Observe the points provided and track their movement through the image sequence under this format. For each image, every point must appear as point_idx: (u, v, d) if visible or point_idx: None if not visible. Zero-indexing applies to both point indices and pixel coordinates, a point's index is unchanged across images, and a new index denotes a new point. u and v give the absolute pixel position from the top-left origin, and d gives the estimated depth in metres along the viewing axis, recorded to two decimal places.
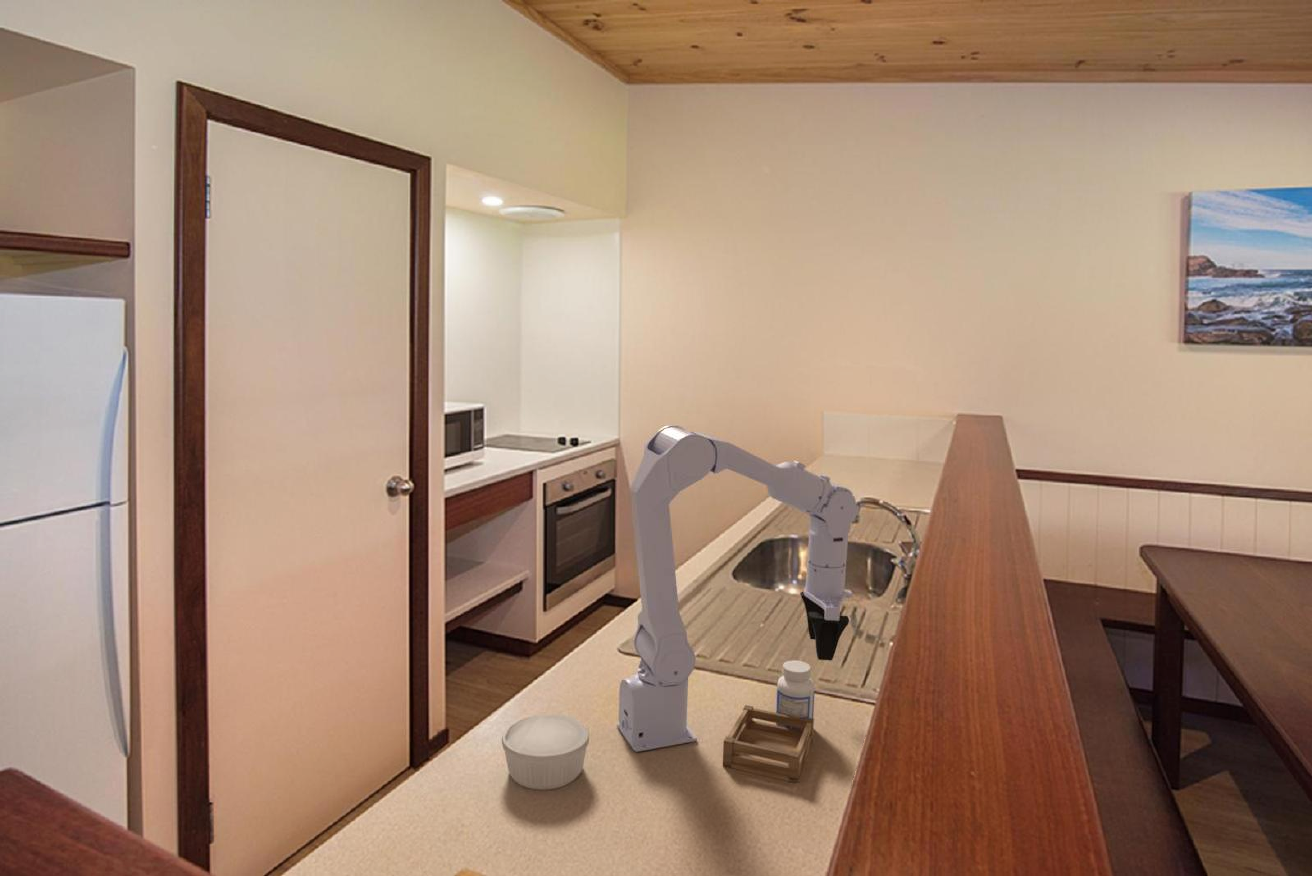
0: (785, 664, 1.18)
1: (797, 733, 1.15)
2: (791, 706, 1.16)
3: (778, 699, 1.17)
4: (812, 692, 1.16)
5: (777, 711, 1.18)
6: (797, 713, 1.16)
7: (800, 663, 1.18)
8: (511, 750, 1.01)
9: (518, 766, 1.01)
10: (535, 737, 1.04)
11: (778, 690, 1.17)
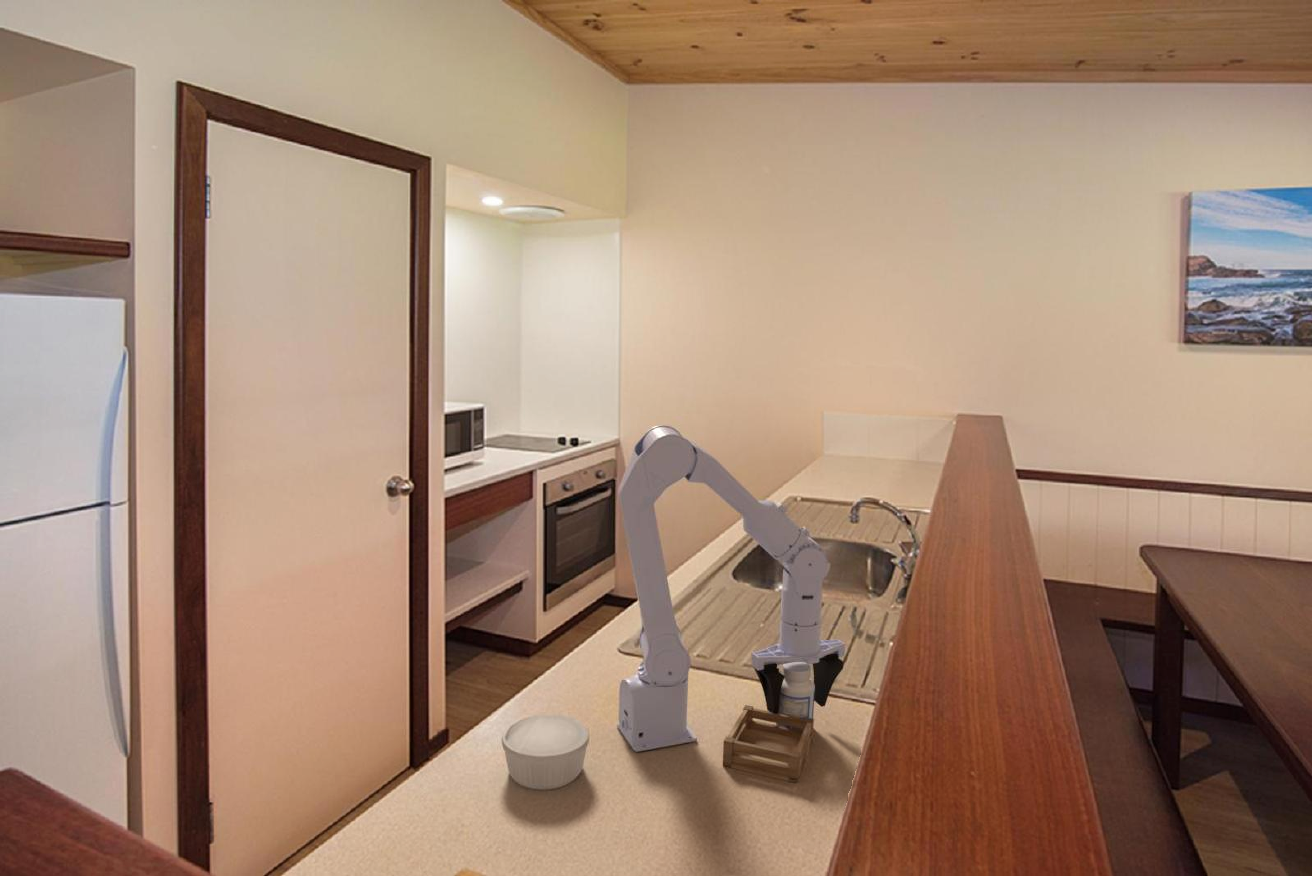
0: (785, 664, 1.18)
1: (797, 733, 1.15)
2: (791, 706, 1.16)
3: None
4: (812, 692, 1.16)
5: None
6: (797, 713, 1.16)
7: (800, 663, 1.18)
8: (511, 750, 1.01)
9: (518, 766, 1.01)
10: (535, 737, 1.04)
11: None
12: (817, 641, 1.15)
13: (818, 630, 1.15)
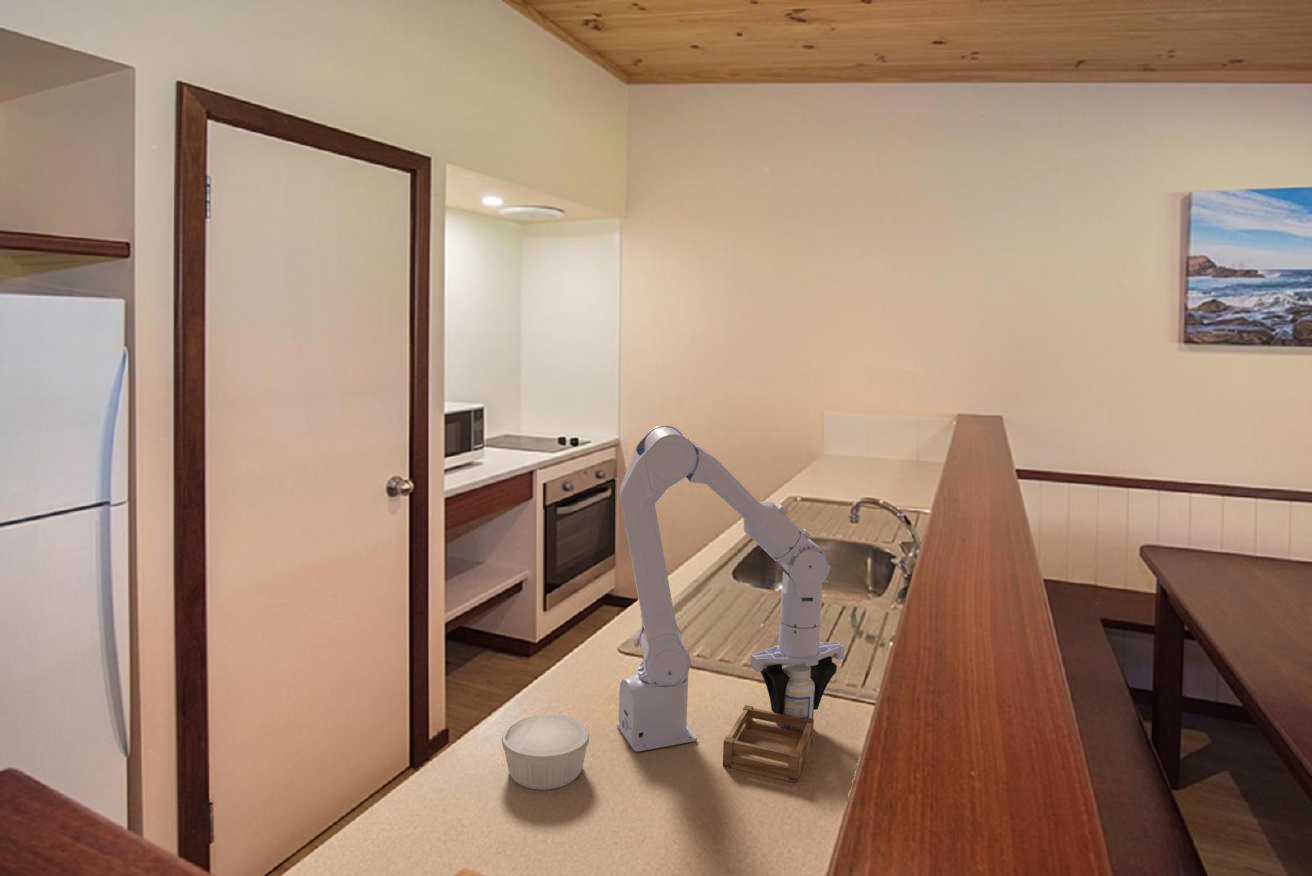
0: None
1: (797, 733, 1.15)
2: (791, 706, 1.16)
3: None
4: (812, 692, 1.16)
5: None
6: (797, 713, 1.16)
7: None
8: (511, 750, 1.01)
9: (518, 766, 1.01)
10: (535, 737, 1.04)
11: None
12: (816, 643, 1.15)
13: (817, 632, 1.15)
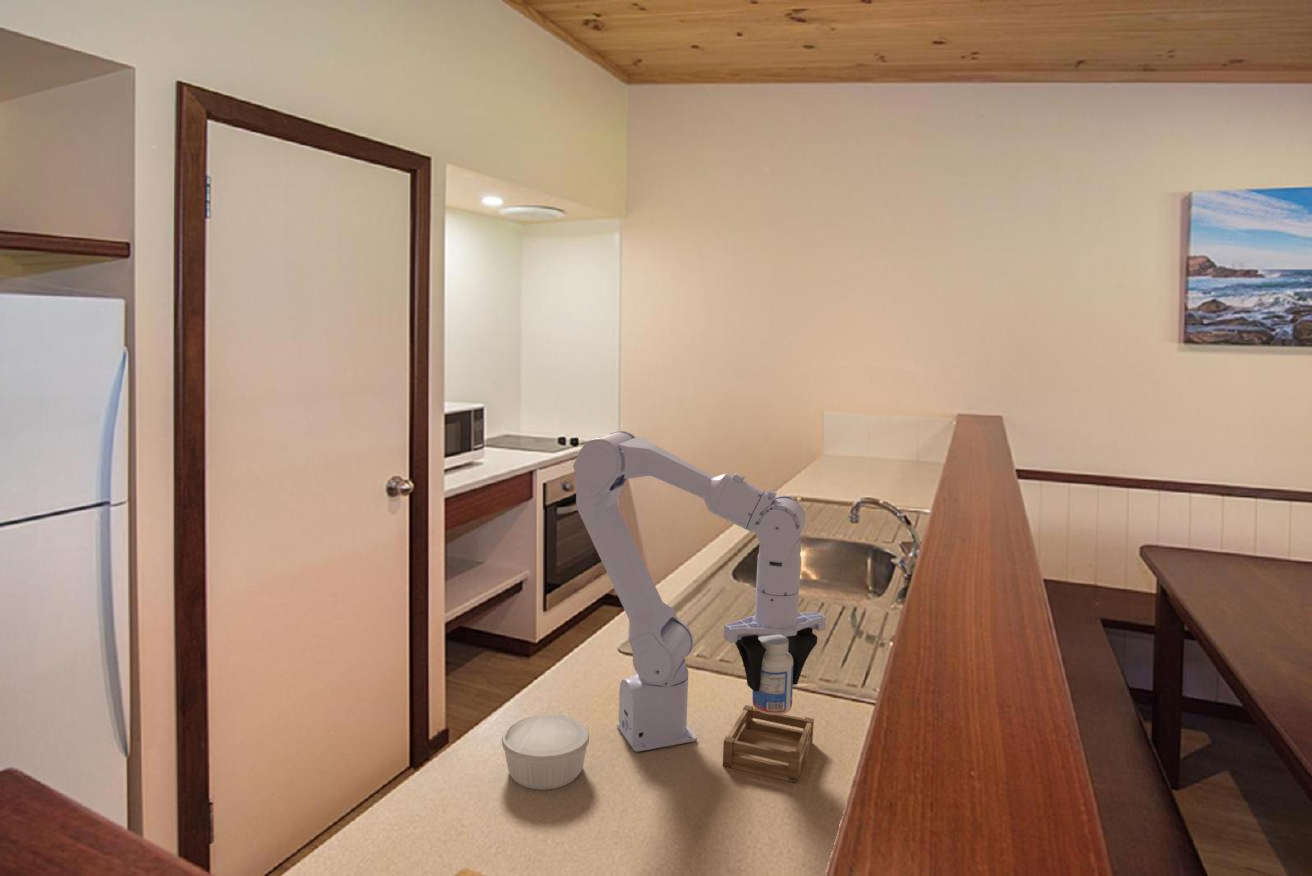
0: (761, 637, 1.10)
1: (797, 733, 1.15)
2: (767, 681, 1.08)
3: None
4: (790, 667, 1.08)
5: None
6: (773, 690, 1.07)
7: (778, 636, 1.10)
8: (511, 750, 1.01)
9: (518, 766, 1.01)
10: (535, 737, 1.04)
11: None
12: (795, 612, 1.07)
13: (796, 600, 1.07)
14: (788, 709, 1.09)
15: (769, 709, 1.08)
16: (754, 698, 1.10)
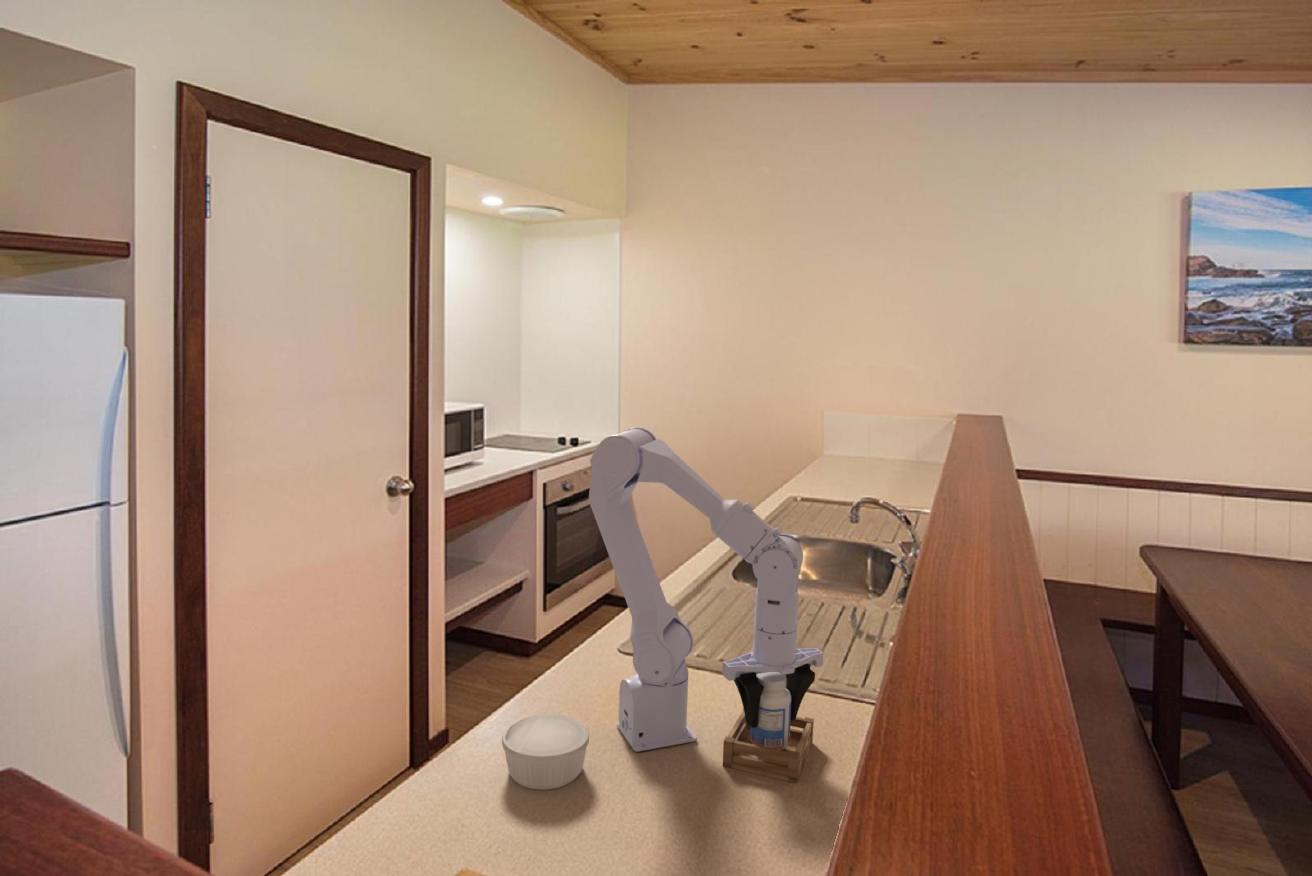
0: None
1: (797, 733, 1.15)
2: (765, 718, 1.08)
3: None
4: (788, 704, 1.09)
5: None
6: (771, 726, 1.08)
7: (776, 673, 1.11)
8: (511, 750, 1.01)
9: (518, 766, 1.01)
10: (535, 737, 1.04)
11: None
12: (793, 650, 1.08)
13: (794, 638, 1.07)
14: (786, 745, 1.10)
15: (767, 745, 1.09)
16: (752, 734, 1.10)
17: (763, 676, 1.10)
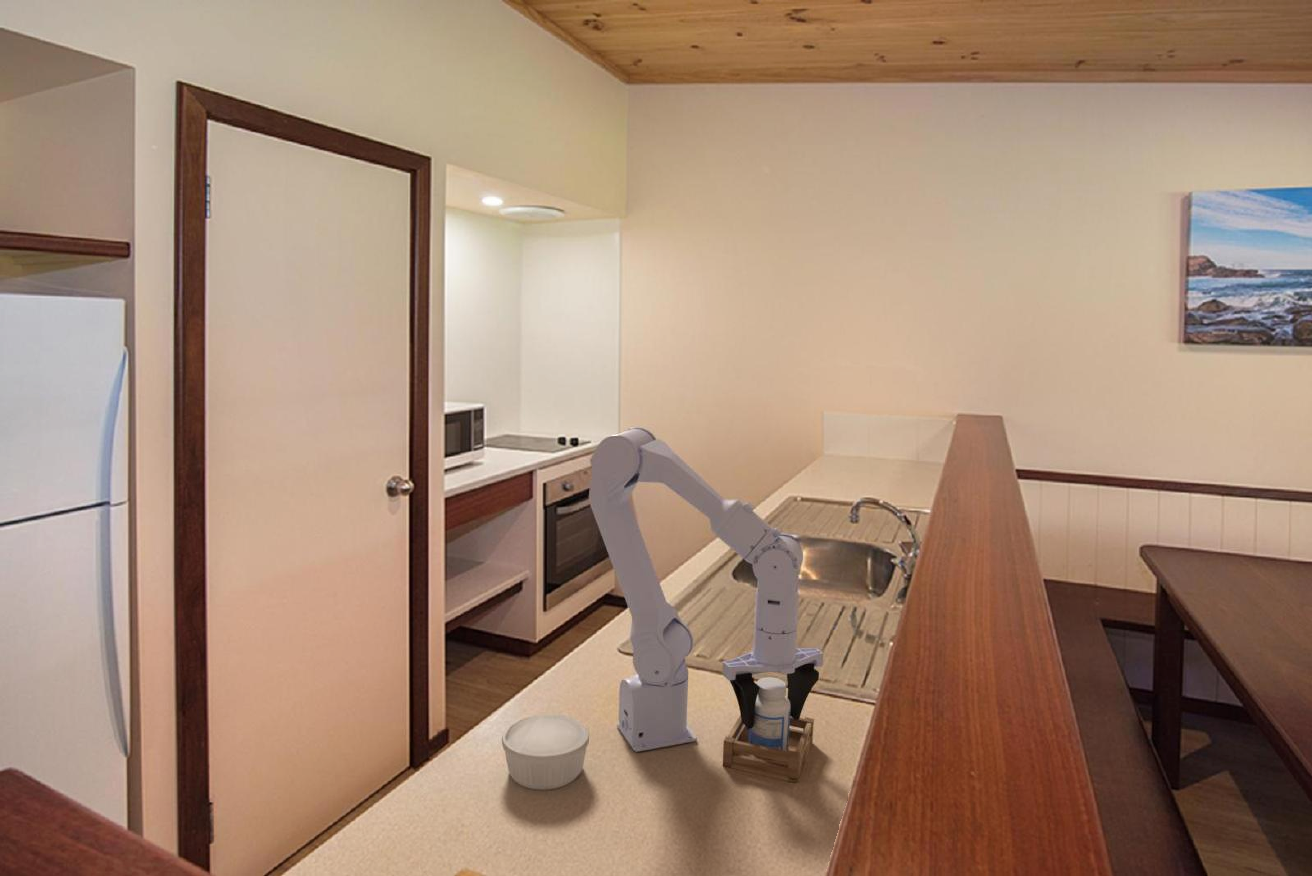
0: (759, 681, 1.10)
1: (797, 733, 1.15)
2: (764, 726, 1.08)
3: None
4: (787, 712, 1.09)
5: (750, 731, 1.11)
6: (770, 734, 1.08)
7: (775, 681, 1.11)
8: (511, 750, 1.01)
9: (518, 766, 1.01)
10: (535, 737, 1.04)
11: None
12: (793, 650, 1.08)
13: (794, 638, 1.07)
14: None
15: None
16: (751, 741, 1.10)
17: (763, 684, 1.10)
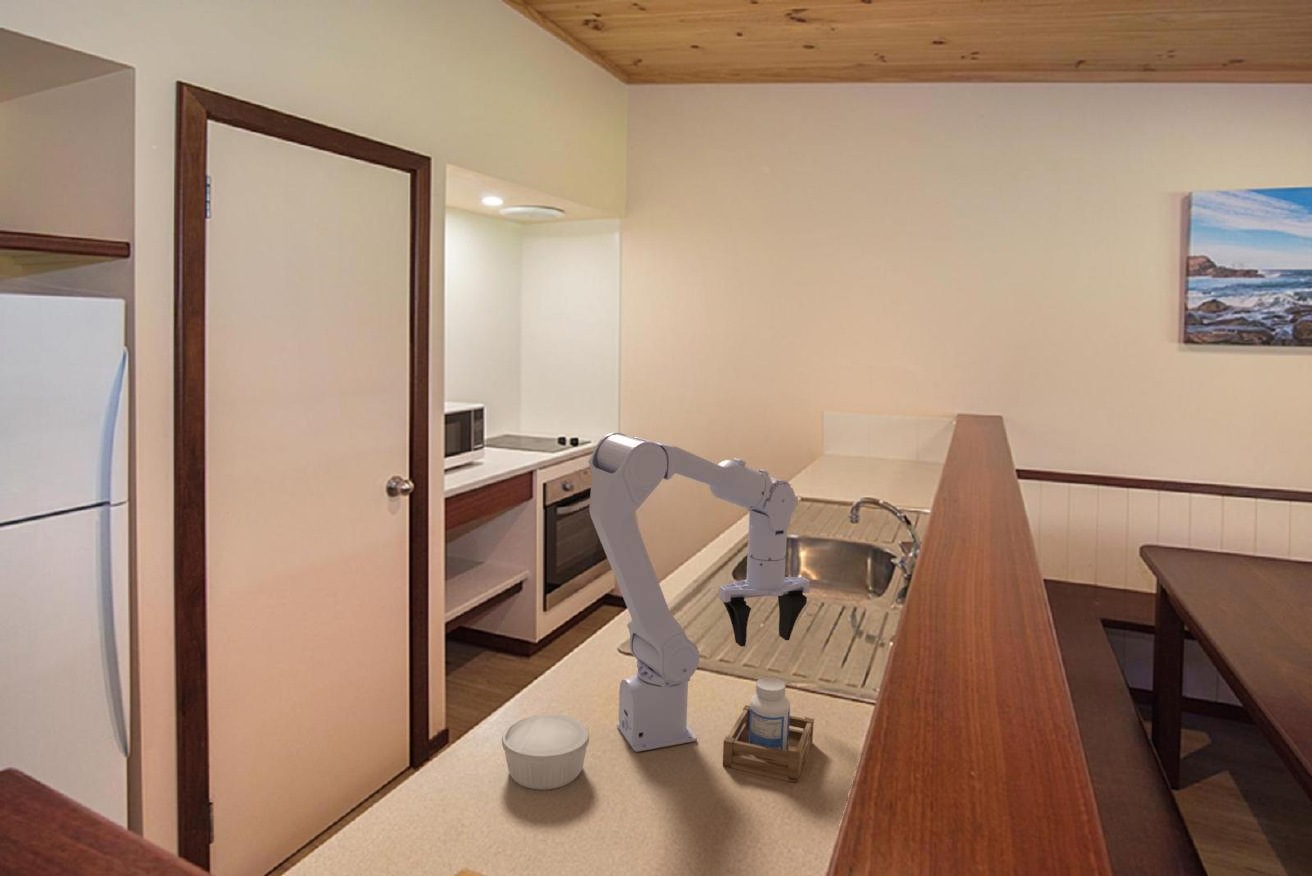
0: (759, 681, 1.11)
1: (797, 733, 1.15)
2: (763, 726, 1.08)
3: (751, 718, 1.10)
4: (786, 712, 1.09)
5: (750, 731, 1.11)
6: (770, 734, 1.08)
7: (775, 681, 1.11)
8: (511, 750, 1.01)
9: (518, 766, 1.01)
10: (535, 737, 1.04)
11: (751, 709, 1.10)
12: (782, 576, 1.21)
13: (783, 565, 1.21)
14: None
15: None
16: (751, 742, 1.11)
17: (762, 684, 1.10)
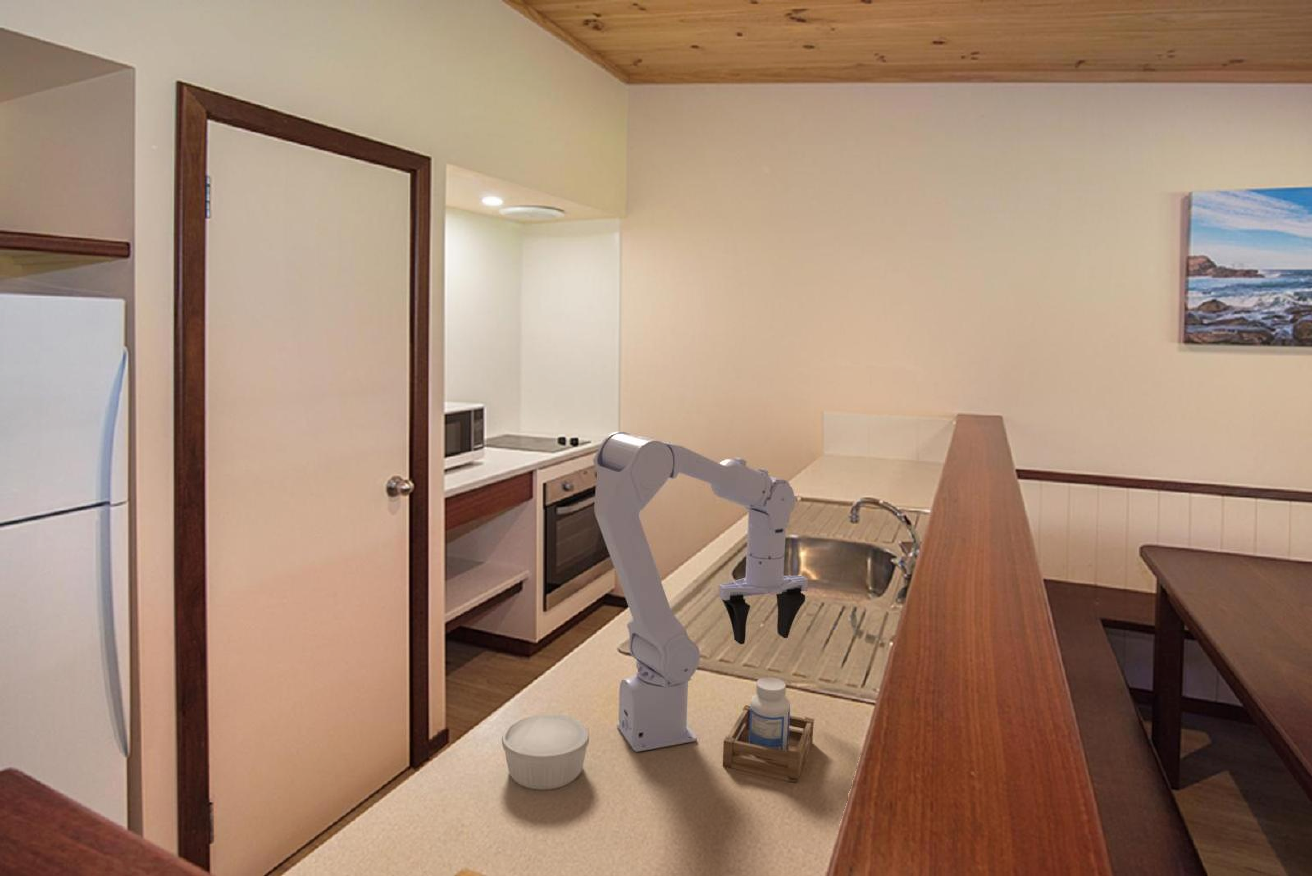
0: (759, 681, 1.11)
1: (797, 733, 1.15)
2: (763, 726, 1.08)
3: (751, 718, 1.10)
4: (786, 712, 1.09)
5: (750, 731, 1.11)
6: (770, 734, 1.08)
7: (775, 681, 1.11)
8: (511, 750, 1.01)
9: (518, 766, 1.01)
10: (535, 737, 1.04)
11: (751, 708, 1.10)
12: (780, 574, 1.22)
13: (782, 563, 1.22)
14: None
15: None
16: (751, 741, 1.11)
17: (762, 684, 1.10)
